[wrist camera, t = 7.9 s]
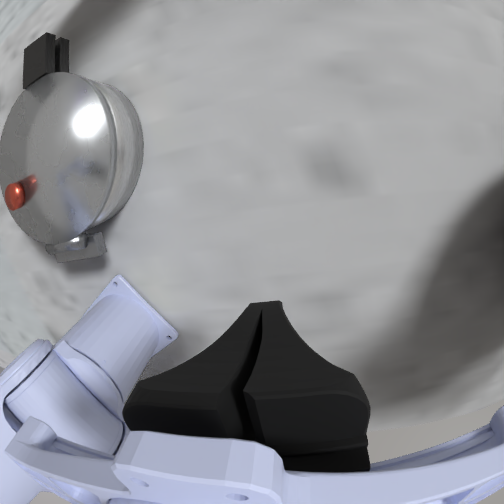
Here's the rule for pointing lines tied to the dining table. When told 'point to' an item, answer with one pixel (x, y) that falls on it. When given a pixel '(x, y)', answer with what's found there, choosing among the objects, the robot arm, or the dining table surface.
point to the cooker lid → (57, 152)
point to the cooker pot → (127, 156)
